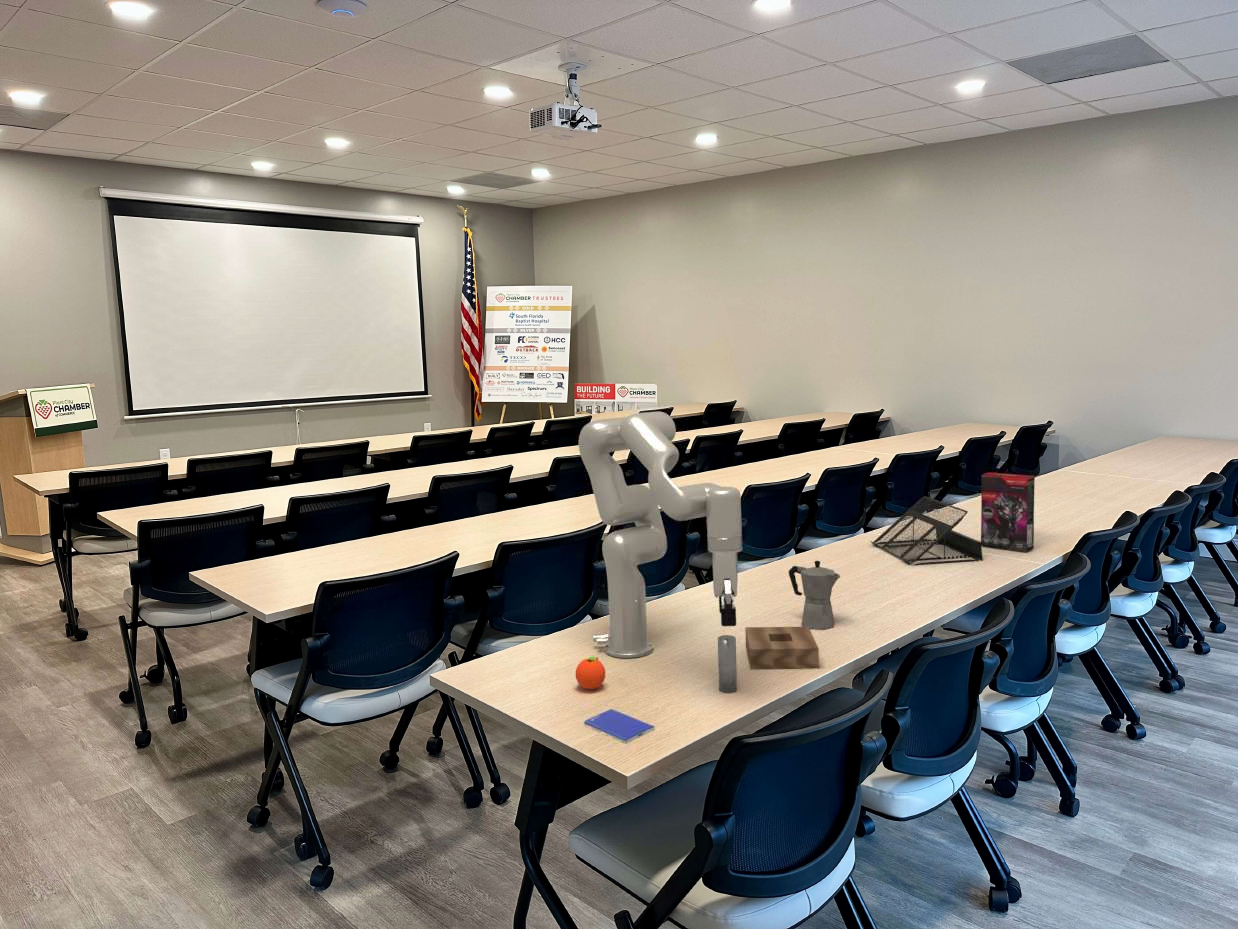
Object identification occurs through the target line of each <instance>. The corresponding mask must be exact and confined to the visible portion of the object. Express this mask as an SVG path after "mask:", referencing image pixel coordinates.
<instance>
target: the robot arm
mask: <svg viewBox="0 0 1238 929" xmlns="http://www.w3.org/2000/svg"><path fill="white" fill-rule="evenodd" d="M676 431H677V428H676V424H675V422H674V420H673V418H672V417H671V416H670V415H669V414H667V413H666V412H663V411H649V412H637V413H631V414H629V415H627V416H624V417H610V418H602V419H596V420H593V421H589V422H588V423H587V424H585V425H584V426H583V427H582V428H581V431H580V432H579V433H580V434H579V435H578V436H579V437H578V450H579V455H580V457H581V460H582V463H583V465H584V466H585V469H586V471H587V473H588V476H589V479H590V483H591V487H592V492H593V494H594V499H595V504H596V506H597V510H598V511H597V512H598V514H599V517H600V519H601V521H602V522H603V523H604V524H605V525H607V526H619V525H625V524H626V525H627V524H631V523H634V524H635V526H633V527H627V528H624V529H618V530H615V531H613V532H611V533H609V534H608V535H607V536H605V538H604V539H603V542H602V546H601V547H602V548H601V550H602V556H603V560H604V566H605V570H606V577H607V592H608V593H607V594H608V595H607V596H608V616H609V632H605V634H600V633H599V634H598V633H593V635H592V636H593V637H592V638H593V639H592V641H593V643H595V642H596V644H597V645H604V652H605V653H606V655H608V654H609V655H608V656H610V657H614V658H619V659H634V658H642V657H644V656H647V655H649V654H650V653H652V652H653V651H654V644H653V642H652V641H650V640H648V628H647V627H648V626H647V602H646V600H647V599H646V598H647V596H646V582H645V578H644V577H643V575H642V573H641V572H640V571H639V569H638V565H642V564H646V563H650V562H653V561H658V560H659V559H660V560H661V558H663V557H664V556H665V554H666V552H667V551H668V550H667V549H668V541H667V539H668V538H667V535H666V531H665V526H664V523H663V520H662V519H663V518H662V516H661V511H660V509H661V510H662V511H663V512H664V513H665V514H666V515H667V516H668V517H669V518H671V519H673V520H675V521H676V522H677V521H678V522H682V521H688V520H693V519H697V518H704V517H706V527H707V528H706V529H707V530H706V531H707V552H710V553H712V580H713V582H712V584H713V585H712V586H713V596H714V597H715V598H717V599H718V607H719V610H718V611H719V613H720V624H721V626H722V627H736V626H737V608H736V606H735V605H736V604H735V598H736V597H737V596H738V576H739V575H738V553H740V552H741V551H743V534H742V533H743V532H742V531H743V529H742V528H743V526H742V504H741V502H742V501H741V496H742V495H741V492H740V490H739V489H738V488H737V487H736V488H735V487H733V486H721V485H719V484H716V483H713V482H712V483H711V482H702V483H695V484H690V485H683V486H678V485H676V483H675V482H674V481H673V480H672V479H671V478H670V476H669V475H668V473H669V472H671V471H672V469H674V467H675V466H676V464H677V463H678V461H679V457H680V452H679V450H678V448H677V447H676V446H675V444H674V443H672V442H673V440H674V439H675V436H676V433H677V432H676ZM628 450H630V452H632V453H633V455H634V456H635V457H636V458H637V459H638V460H639V462H641V464H642V465H643V466H644V467H645V468H646V469H647V471H648V475H647V476H648V477H647V481H648V486H646V485H643V484H631V485H627V483H626V480H625V476H624V472H623V469H622V468H621V466H620V464H619V463H618V462H617V460H615V458H614V457H613V456H611V455H610V453H611V452H621V451H628Z"/></svg>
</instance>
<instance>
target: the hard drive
mask: <svg viewBox="0 0 1238 929" xmlns="http://www.w3.org/2000/svg"><path fill="white" fill-rule="evenodd" d="M584 725H587V726H589V727H591V728H593V729H596V730H598V731H600V732H604V733H605V734H607V735H609V736H612V737H614V738H616V739H617V740H616V739H615V740H616V741H619V740H620V741H619V742H621V741H622V742H621V743H623V742H624V744H626V745H627V744H628V742H629V743H631V742H633V741H634V739H635V740H637V739H639V738H641V737H642V736H645V735H647V734H649V733H651V732H654V731H655V725H652V724H649V723H647V722H645V721H642V720H639V719H637V718H634V717H632V716H629V715H627V714H625V713H622V712H620V711H617V710H615V709H612V708H610V709H608V710H606V711H604V712H600V713H598V714H597V715H594V716H592V717H590V718H588V719H586V720H584V722H583V726H584ZM591 728H590V729H591ZM593 729H592V730H593ZM598 731H597V732H598ZM600 732H599V733H600ZM605 734H604V735H605ZM607 735H606V736H607ZM609 736H608V737H609ZM640 736H641V737H640ZM612 737H611V738H612ZM638 737H639V738H638ZM614 738H613V739H614ZM636 738H637V739H636ZM632 740H633V741H632ZM630 741H631V742H630Z"/></svg>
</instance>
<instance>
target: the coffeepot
mask: <svg viewBox="0 0 1238 929" xmlns="http://www.w3.org/2000/svg"><path fill="white" fill-rule="evenodd" d="M820 566H821V561H820V560H814V566H812V567H806V566H797V565H793V566H792V567H791V568H789V570H788V576H789V579H790V582H791V586H792V588H793V593H794V595H796V596H802V595H804V596H805V597H804V598H805V600H804V606H803V611H802V617H801V623H800V624H801V627H809V629H810V630H814V629H815V630H816V631H817V630H818V631H822V630H830V629H832V628H833V627H835V618H834V612H833V605H832V603H831V596H832V592H833V587H834V586H835V584H836V582H837V581H838V580H839V579H841V575H840V574H839V573H836V572H835V570H834V569H830V568H827V567H822V566H821V567H820ZM796 573H797V574H799V575H800V577H801V582H802V589H803V592H800V591H799V585H798V582H797V578H796V575H795V574H796ZM815 630H814V631H815Z"/></svg>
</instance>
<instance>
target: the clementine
mask: <svg viewBox="0 0 1238 929" xmlns="http://www.w3.org/2000/svg"><path fill="white" fill-rule="evenodd" d="M574 676H575V679H576V681H577V684H579V685H580V686H581V687H582V688H584V689H585V690H594V689H597V688H599V687H601V685H602V684H603V683H604V682H605V679H606V668H605V666H604V664H603V663H602V662H601V661H600V660H599V658H598V657H596V656H590V657H587V658H584V659H583V660H581V661H580V662H579V663H578V664H577V666H576V669H575V675H574Z"/></svg>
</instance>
